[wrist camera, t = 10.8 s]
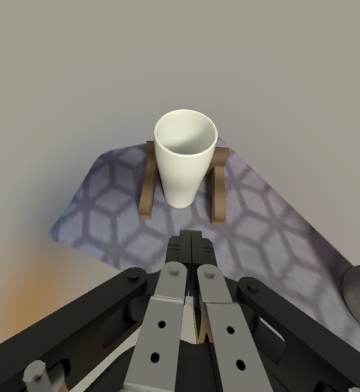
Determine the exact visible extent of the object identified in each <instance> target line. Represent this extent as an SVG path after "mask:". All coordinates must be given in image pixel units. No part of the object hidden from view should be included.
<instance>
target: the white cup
mask: <svg viewBox="0 0 360 392" xmlns="http://www.w3.org/2000/svg"><path fill="white" fill-rule="evenodd" d="M217 137H218V134H217V129H216V126H215V125H214V123H213V122H212V121H211V120H210V119H209V118H208V117H207V116H205V115H204V114H202V113H199V112H196V111H193V110H186V109H182V110H175V111H171V112H169V113H167V114H165V115H163V116H162V117H161V118H160V119H159V120H158V121H157V123H156V125H155V128H154V146H155V155H156V161H157V166H158V170H159V174H160V177H161V181H162V185H163V190H164V197H165V199H166V201H167V203H168V204H169V205H171V206H172V207H175V208H185V207H187V206H189V205H190V204H191V203H192V202H193V201H194V198H195V195H196V193H197V190H198V188H199V186H200V184H201V182H202V180H203V178H204V176H205V174H206V172H207V170H208V167H209V165H210V163H211V160H212V157H213V153H214V150H215V146H216V142H217Z"/></svg>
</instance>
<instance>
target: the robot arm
mask: <svg viewBox="0 0 360 392" xmlns="http://www.w3.org/2000/svg"><path fill="white" fill-rule="evenodd" d="M342 290H343V296H344V299H345V302H346V304H347V306H348V308H349V310H350V312H351V313H352V315H353V316H354V318H355V319H356V320H357V321H358V322H359V323H360V265H359V266H355V267H352V268H350V269H349V270H348V271H347V272H346V274H345V275H344V278H343V283H342ZM188 291H189V296H193V318H194V327H195V335H196V344H191V343H188V342H186V341H183V340H180V334H181V325H182V316H183V307H184V305H185V298H186V296H188ZM260 317H261V318H262V319H263V320H265V321H266V322H267V323H268V324H269V325H270V326H271V327H273V328H274V329H275V330H276V331H277V332H278V333H279V334H281V336H282V337H283V338H284V340H285V342H284V341H283V340H282V339H281V338H280V337H279V336H278V335H276V334H275V333H274V332H273V331H272V330H271V329H270V328H269V327H267V326H266V325H265V324H264V323H263V322H262V321H261V320H260ZM141 325H142V327H141V330H140V333H139V337H138V339H137V343H136V345H135V346H133V347H131V348H129V349H128V350H126V351H125V352H123V353H122V354H121V355H120V356H118V357H117V358H116V359H115V360H114V361H113V362H112V363H111V364H110V365H109V366H108V367H107V368H106V369H105V370H104V372H102V373H101V374H100V376H99V377H97V378H96V380H95V381H94V382H93V383H92V384H91V385H90V386H89V387H88V388H87V389H86V390H85V391H84V392H360V352H359V351H357V350H356V349H354V348H353V347H352V346H350V345H349V344H347V343H346V342H345V341H343V340H342V339H340V338H339V337H338V336H336V335H335V334H333V333H332V332H331V331H329V330H328V329H326V328H325V327H324V326H322V325H321V324H319V323H318V322H317V321H315V320H314V319H312V318H311V317H310V316H308V315H307V314H305V313H304V312H303V311H301V310H300V309H298V308H297V307H296V306H294V305H293V304H291V303H290V302H289V301H287V300H286V299H284V298H283V297H282V296H280V295H279V294H277V293H276V292H275V291H273V290H272V289H270V288H269V287H268V286H266V285H265V284H263V283H262V282H260V281H259V280H257V279H255V278H252V277H242V278H241V279H240V280H239V282H237V281H234V280H231V279H228V278H226V277H225V276H223V273H222V271H221V270H220V269H219V268H218V267H217V262H216V258H215V253H214V249H213V245H212V242H211V241H210V240H209V239H206V238H202V233H201V231H193V230H191V234H190V230H180V236H172V237H171V238H170V239H169V242H168V248H167V254H166V260H165V264H164V265H163V267H162V269H161V270H160V271H158V272H155V273H151V274H147V273H146V271H145V270H144V269H142V268H138V267H133V268H129V269H126V270H125V271H123V272H121V273H120V274H118V275H116V276H115V277H113V278H111V279H110V280H108V281H106V282H104V283H103V284H101V285H99V286H97V287H96V288H94V289H93V290H91V291H89V292H87V293H86V294H84V295H82V296H81V297H79V298H77V299H75V300H74V301H72V302H70V303H69V304H67V305H65V306H64V307H62V308H60V309H59V310H57V311H55V312H53V313H52V314H50V315H48V316H47V317H45V318H43V319H42V320H40V321H38V322H36V323H35V324H33V325H31V326H30V327H28V328H27V329H25V330H23V331H21V332H20V333H18V334H16V335H14V336H13V337H11V338H9V339H8V340H6V341H4V342H3V343H1V344H0V392H69V391H70V390H71V389H72V388H73V387H75V385H77V384H78V383H79V382H80V381H81V380H82V379H83V378H84V377H85V376H87V374H89V373H90V372H91V371H92V370H93V369H94V368H95V367H96V366H97V365H99V364H100V363H101V362H102V361H103V360H104V359H105V358H106V357H107V356H108V355H109V354H110V353H112V352H113V351H114V350H115V349H116V348H117V347H118V346H119V345H120V344H121V343H123V342H124V341H125V340H126V339H127V338H128V337H129V336H130V335H131V334H132V333H133V332H135V331H136V330H137V329H138V328H139V327H140V326H141Z"/></svg>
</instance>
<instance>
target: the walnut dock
mask: <svg viewBox="0 0 360 392" xmlns="http://www.w3.org/2000/svg"><path fill="white" fill-rule="evenodd" d="M145 149H146V154H147V160H148V161H147V166H146V171H145V177H144V182H143V187H142V192H141V198H140V203H139V208H138V213H139V215H140V218H144V219H151V213H152V206H153V200H154V193H155V187H156V180H157V174H158V171H159V170H158V166H157V161H156V155H155V146H154V141H147V143H146V148H145ZM228 157H229V149H228V148H222V147H215V150H214V153H213V157H212V160H211V163H210V165H209V167H208V170H207V172H206V174H205V175H211V224H213V225H221V224H222V223H223V222H224V221H225V220H226V210H225V183H224V166H225V163H226V161H227V159H228Z"/></svg>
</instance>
